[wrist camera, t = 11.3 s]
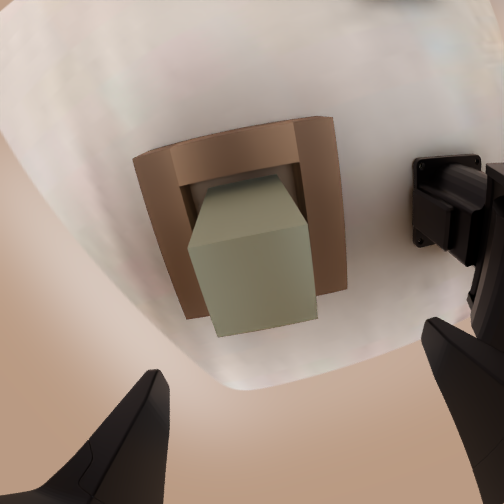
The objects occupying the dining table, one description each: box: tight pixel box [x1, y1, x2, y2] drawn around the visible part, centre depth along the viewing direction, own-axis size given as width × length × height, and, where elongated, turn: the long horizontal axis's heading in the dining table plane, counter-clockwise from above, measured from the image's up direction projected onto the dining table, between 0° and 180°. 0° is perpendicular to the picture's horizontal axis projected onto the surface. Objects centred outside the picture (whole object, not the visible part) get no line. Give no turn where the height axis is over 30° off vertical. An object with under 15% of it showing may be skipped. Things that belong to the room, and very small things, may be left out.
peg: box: [187, 174, 318, 337], centre depth 14 cm, size 4×4×8 cm
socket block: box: [132, 116, 347, 319], centre depth 17 cm, size 10×10×3 cm
